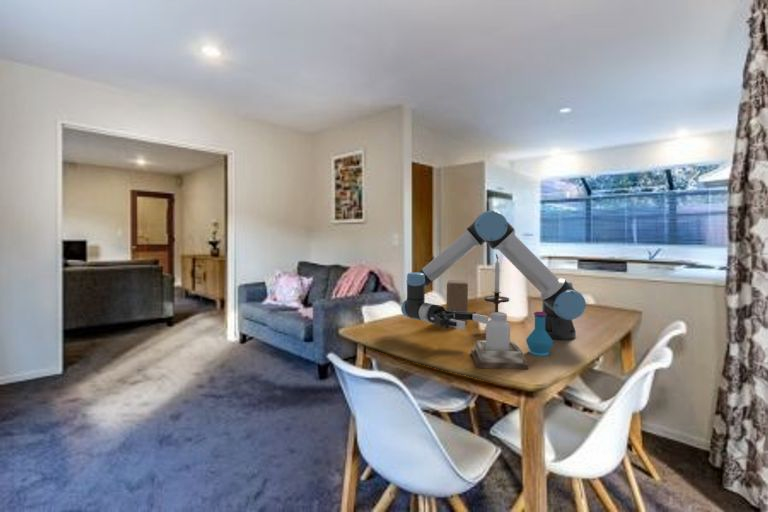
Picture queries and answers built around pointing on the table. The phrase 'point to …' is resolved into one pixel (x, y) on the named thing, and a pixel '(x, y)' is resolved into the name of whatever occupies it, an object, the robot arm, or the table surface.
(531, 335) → the perfume bottle
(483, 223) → the robot arm
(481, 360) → the bottle stand
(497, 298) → the candlestick
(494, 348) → the pill bottle
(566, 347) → the table surface
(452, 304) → the wooden block
